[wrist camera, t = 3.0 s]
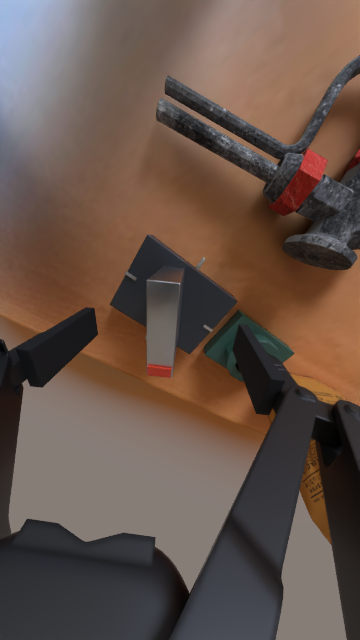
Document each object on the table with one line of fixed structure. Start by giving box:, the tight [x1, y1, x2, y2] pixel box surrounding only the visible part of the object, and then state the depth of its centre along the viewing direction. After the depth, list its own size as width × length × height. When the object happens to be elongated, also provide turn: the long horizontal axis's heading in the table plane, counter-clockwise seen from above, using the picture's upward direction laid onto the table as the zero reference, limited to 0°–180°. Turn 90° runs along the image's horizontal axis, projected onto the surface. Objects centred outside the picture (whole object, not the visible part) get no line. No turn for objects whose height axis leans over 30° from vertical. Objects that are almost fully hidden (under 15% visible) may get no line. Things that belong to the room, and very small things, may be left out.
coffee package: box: [268, 374, 347, 545], centre depth 20 cm, size 10×12×22 cm
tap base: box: [110, 235, 237, 354], centre depth 22 cm, size 13×13×3 cm
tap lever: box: [147, 266, 185, 378], centre depth 17 cm, size 9×2×8 cm, turn 175°
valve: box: [156, 55, 360, 270], centre depth 15 cm, size 6×26×15 cm
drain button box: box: [204, 310, 295, 382], centre depth 24 cm, size 10×8×4 cm
